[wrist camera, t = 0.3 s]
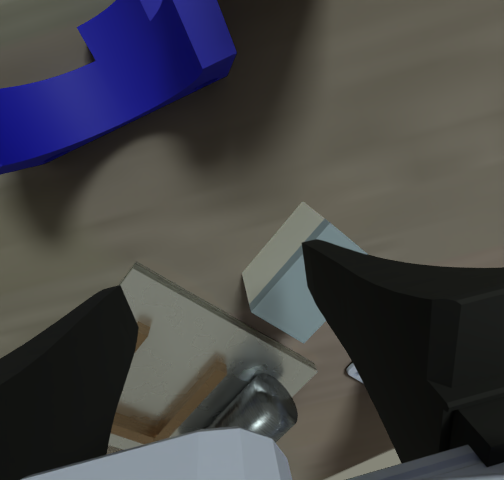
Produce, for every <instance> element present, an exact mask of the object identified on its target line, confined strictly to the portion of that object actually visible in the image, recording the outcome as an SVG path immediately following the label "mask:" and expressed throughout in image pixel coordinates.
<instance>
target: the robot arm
mask: <svg viewBox="0 0 504 480" xmlns="http://www.w3.org/2000/svg"><path fill="white" fill-rule="evenodd" d="M302 250H303V258H304V265H305V273H306V280H307V287H308V289H309V291H310V293H311V295H312V297H313V300H314V302H315V304H316V306H317V307H318V309H319V310H320V312H321V313H322V315H323V316H324V318H325V320H326V321H327V323H328V324H329V326H330V327H331V329H332V330H333V332H334V333H335V335H336V336H337V338H338V339H339V341H340V342H341V344H342V345H343V347H344V348H345V350H346V351H347V353H348V355H349V356H350V358H351V360H352V362H353V363H352V364H351V365H350V366H349V367H348V368H347V370H346V371H347V373H348V375H350V376H351V377H353V378H355V379H356V380H358V381H360V382H362V383H363V384H364V385H365V387H366V389H367V391H368V393H369V395H370V397H371V399H372V401H373V403H374V405H375V407H376V409H377V411H378V414H379V416H380V418H381V420H382V422H383V424H384V426H385V428H386V431H387V433H388V435H389V437H390V439H391V441H392V443H393V445H394V448H395V450H396V452H397V454H398V456H399V459H400V461H401V463H402V464H398V465H395V466H391V467H388V468H385V469H381V470H377V471H374V472H371V473H367V474H364V475H360V476H357V477H354V478H350V479H346V480H504V268H457V267H440V266H429V265H419V264H411V263H404V262H399V261H393V260H388V259H383V258H379V257H375V256H371V255H367V254H363V253H360V252H357V251H353V250H350V249H347V248H344V247H341V246H338V245H335V244H332V243H329V242H326V241H323V240H319V239H314V240H310V241H306V242H302ZM138 329H139V327H138V324H137V322H136V320H135V318H134V315H133V313H132V311H131V308H130V306H129V304H128V301H127V299H126V297H125V295H124V292H123V290H122V288H121V285H119V286H115V287H111V288H107V289H104V290H102V291H100V292H98V293H97V294H95V295H93V296H92V297H90V298H89V299H88V300H86V301H85V302H83V303H82V304H81V305H79V306H78V307H76V308H75V309H74V310H72V311H71V312H70V313H68V314H67V315H66V316H64V317H63V318H61V319H60V320H59V321H57V322H56V323H54V324H53V325H51V326H50V327H49V328H47V329H46V330H44V331H43V332H41V333H40V334H38V335H37V336H36V337H34V338H33V339H31V340H30V341H28V342H27V343H25V344H24V345H22V346H20V347H19V348H17V349H16V350H14V351H12V352H11V353H9V354H7V355H6V356H4V357H2V358H1V359H0V480H292V477H291V472H290V468H289V464H288V460H287V458H286V456H285V455H284V454H283V452H282V451H281V450H280V448H279V447H278V446H277V444H276V443H275V442H274V440H273V439H272V438H270V437H267V436H265V435H262V434H259V433H256V432H253V431H250V430H247V429H244V428H241V427H238V426H232V427H221V428H209V429H200V430H196V431H192V432H189V433H185V434H181V435H178V436H174V437H170V438H166V439H163V440H159V441H155V442H151V443H148V444H144V445H140V446H137V447H133V448H129V449H125V450H122V451H118V452H114V453H111V454H107V455H106V453H107V448H108V444H109V439H110V434H111V429H112V425H113V420H114V417H115V413H116V409H117V406H118V403H119V400H120V397H121V394H122V391H123V388H124V384H125V381H126V378H127V375H128V372H129V369H130V366H131V363H132V359H133V356H134V353H135V349H136V343H137V337H138Z"/></svg>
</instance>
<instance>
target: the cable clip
mask: <svg viewBox="0 0 504 480" xmlns="http://www.w3.org/2000/svg"><path fill="white" fill-rule="evenodd" d="M77 29H78V30H79V32H80V34H81V36H82V37H83V39H84V41H85V43H86V44H87V46H88V48H89V50H90V51H91V53H92V55H93V57H94V58H95V60H96V61H94V62H92V63H90V64H88V65H85V66H83V67H81V68H78V69H76V70H73V71H71V72H68V73H65V74H62V75H59V76H56V77H53V78H49V79H46V80H42V81H39V82H35V83H30V84H26V85H21V86H15V87H9V88H2V89H0V174H4V173H9V172H13V171H17V170H21V169H25V168H29V167H34V166H38V165H42V164H45V163H47V162H50V161H52V160H54V159H56V158H58V157H60V156H62V155H64V154H66V153H68V152H70V151H72V150H74V149H77V148H79V147H81V146H83V145H85V144H87V143H89V142H91V141H93V140H95V139H97V138H99V137H101V136H104V135H106V134H108V133H110V132H112V131H114V130H116V129H118V128H120V127H122V126H124V125H126V124H128V123H130V122H133V121H135V120H137V119H139V118H141V117H143V116H145V115H147V114H149V113H151V112H153V111H155V110H157V109H160V108H162V107H164V106H166V105H168V104H170V103H172V102H174V101H176V100H178V99H180V98H182V97H184V96H186V95H189V94H191V93H193V92H195V91H197V90H199V89H201V88H203V87H205V86H207V85H209V84H211V83H213V82H216V81H218V80H220V79H222V78H224V77H226V76H227V75H228V73H229V70H230V68H231V66H232V63H233V61H234V58H235V56H236V54H237V51H236V49H235V46H234V44H233V41H232V38H231V36H230V33H229V31H228V28H227V25H226V23H225V20H224V17H223V15H222V12H221V10H220V7H219V4H218V2H217V0H116V1H115V2H114V3H113V4H112V5H110V6H109V7H108V8H107V9H106V10H104V11H103V12H101V13H100V14H99V15H97V16H96V17H94V18H92V19H91V20H89V21H88V22H86V23H84V24H82V25H80V26H78V27H77Z"/></svg>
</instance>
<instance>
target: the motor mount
mask: <svg viewBox="0 0 504 480" xmlns="http://www.w3.org/2000/svg"><path fill="white" fill-rule="evenodd" d="M119 285H121V288H122V290H123V292H124V295H125V297H126V299H127V301H128V304H129V306H130V308H131V311H132V313H133V315H134V318H135V320H136V322H137V324H138V327H139V329H138V337H137V343H136V349H135V353H134V356H133V359H132V363H131V366H130V369H129V372H128V375H127V378H126V381H125V384H124V388H123V391H122V394H121V397H120V400H119V403H118V406H117V409H116V413H115V417H114V420H113V425H112V429H111V434H110V439H109V444H108V445H110V446H114V447H117V448H120V449H123V450H125V449H129V448H133V447H137V446H140V445H144V444H148V443H151V442H155V441H159V440H163V439H166V438H170V437H174V436H178V435H181V434H185V433H189V432H192V431H196V430H200V429H209V428H221V427H232V426H238V427H241V428H244V429H247V430H250V431H253V432H256V433H259V434H262V435H265V436H267V437H270V438H272V439H273V440H274V442H275V443H276V442H277V441H278V440H279V439H280V438H281V437H282V436H283V435H284V434H285V433H286V432H287V431H288V430H289V429H290V428H291V427H292V426H293V425H294V424H295V423H296V422H297V417H298V415H297V409H296V406H295V403H294V401H293V399H292V397H293V396H294V395H295V394H296V393H297V392H298V391H299V390H300V389H301V388H302V387H303V386H304V385H305V384H306V383H307V382H308V381H309V380H310V379H311V378H312V377H313V376H314V375H315V374H316V373H317V372H318V371H317V369H316V366H315V364H314V363H313V362H311V361H309V360H308V359H306V358H304V357H302V356H301V355H299V354H297V353H295V352H294V351H292V350H290V349H288V348H287V347H285V346H283V345H281V344H280V343H278V342H276V341H274V340H273V339H271V338H269V337H267V336H266V335H264V334H262V333H260V332H259V331H257V330H255V329H253V328H252V327H250V326H248V325H246V324H245V323H243V322H241V321H239V320H237V319H236V318H234V317H232V316H230V315H229V314H227V313H225V312H223V311H222V310H220V309H218V308H216V307H215V306H213V305H211V304H209V303H208V302H206V301H204V300H202V299H201V298H199V297H197V296H195V295H194V294H192V293H190V292H188V291H187V290H185V289H183V288H181V287H180V286H178V285H176V284H174V283H173V282H171V281H169V280H167V279H166V278H164V277H162V276H160V275H159V274H157V273H155V272H153V271H151V270H150V269H148V268H146V267H144V266H143V265H141V264H139V263H137V262H136V263H135V264H134V265H133V267H132V268H131V269H130V271H129V272H128V273H127V275H126V276H125V278H124V279H123V280H122V282H121V283H120V284H119Z"/></svg>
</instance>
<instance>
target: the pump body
mask: <svg viewBox="0 0 504 480" xmlns="http://www.w3.org/2000/svg"><path fill="white" fill-rule="evenodd" d="M314 239H319V240H323V241H326V242H329V243H332V244H335V245H338V246H341V247H344V248H347V249H350V250H353V251H357V252H360V253H363V254H367V253H366V252H364V251H363V250H362V249H361V248H360V247H358V246H357V245H356V244H355V243H354V242H352V241H351V240H350V239H349V238H348V237H347V236H345V235H344V234H343V233H342V232H341V231H339V230H338V229H337V228H336V227H335V226H333V225H332V224H331V223H330V222H328V221H327V220H326V219H325V218H323V217H322V216H321V215H320V214H318V213H317V212H316V211H315V210H313V209H312V208H311V207H310V206H308V205H307V204H306V203H304V202H303V201H302V203H301V204H300V205H299V206H298V207H297V209H296V210H295V211H294V212H293V213H292V214H291V216H290V217H289V218H288V219H287V220H286V222H285V223H284V224H283V225H282V226H281V227H280V229H279V230H278V231H277V232H276V233H275V235H274V236H273V237H272V238H271V239H270V240H269V242H268V243H267V244H266V245H265V246H264V248H263V249H262V250H261V251H260V252H259V253H258V255H257V256H256V257H255V258H254V259H253V261H252V262H251V263H250V264H249V265H248V266H247V268H246V269H245V270H244V271H243V272H242V276H243V281H244V285H245V289H246V293H247V297H248V302H249V306H250V310H251V312H252V313H253V314H255V315H257V316H258V317H260V318H262V319H263V320H265V321H267V322H268V323H270V324H272V325H273V326H275V327H277V328H279V329H280V330H282V331H284V332H285V333H287V334H289V335H290V336H292V337H294V338H295V339H297V340H299V341H300V342H302V343H305V342H306V341H307V340H308V339H309V338H310V337H311V336H312V335H313V333H314V332H315V331H316V330H317V329H318V328H319V327H320V326H321V325H322V324H323V323H324V322H325V321H326V320H325V318H324V316H323V315H322V313H321V312H320V310H319V309H318V307H317V306H316V304H315V302H314V300H313V297H312V295H311V293H310V291H309V289H308V287H307V280H306V273H305V265H304V258H303V250H302V242H306V241H310V240H314ZM367 255H368V254H367Z"/></svg>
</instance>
